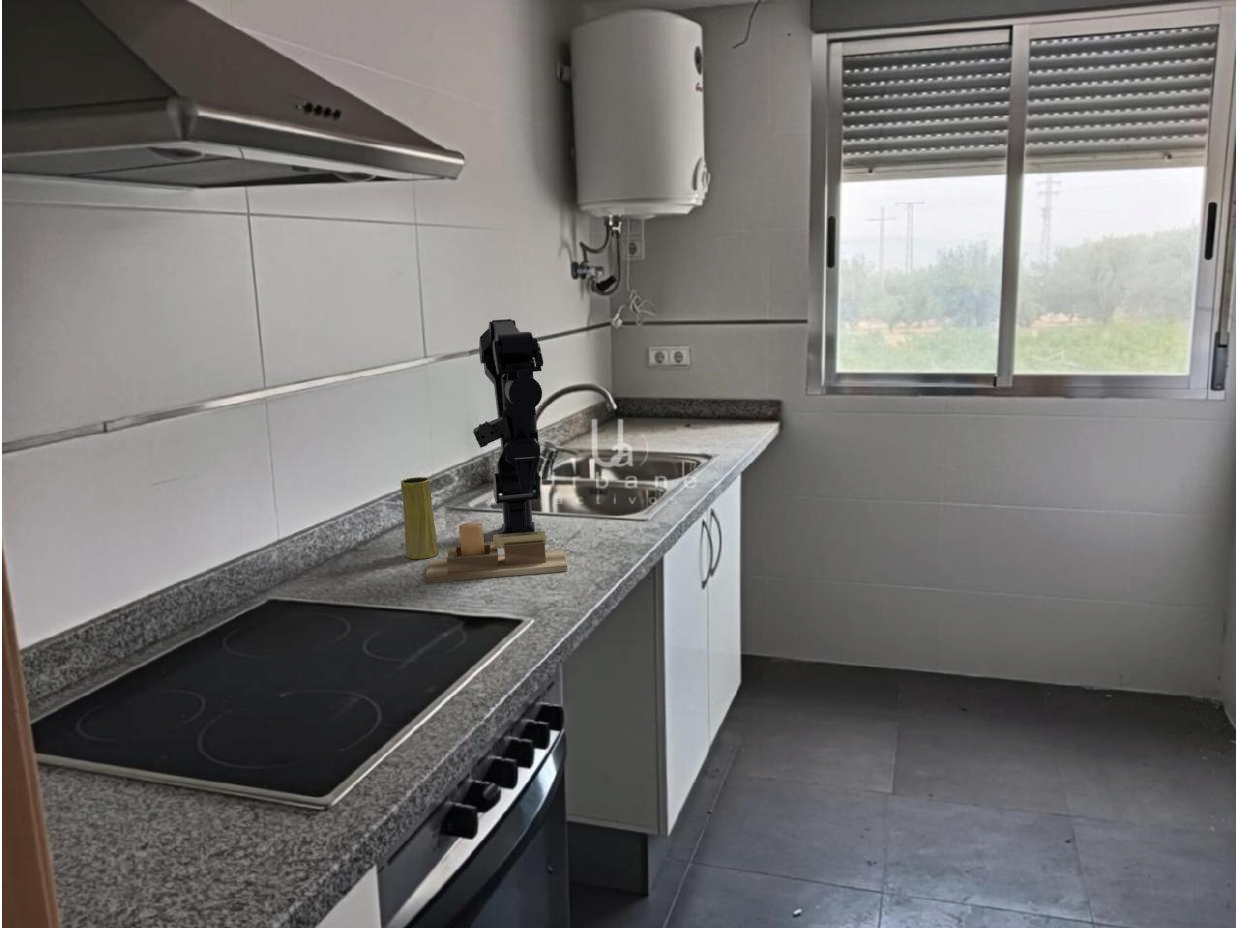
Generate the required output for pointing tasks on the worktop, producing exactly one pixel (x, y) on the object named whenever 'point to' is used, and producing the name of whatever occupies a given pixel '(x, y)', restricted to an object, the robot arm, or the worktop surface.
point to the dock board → (496, 562)
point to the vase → (418, 518)
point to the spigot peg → (471, 539)
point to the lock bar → (518, 538)
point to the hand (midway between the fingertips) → (525, 487)
